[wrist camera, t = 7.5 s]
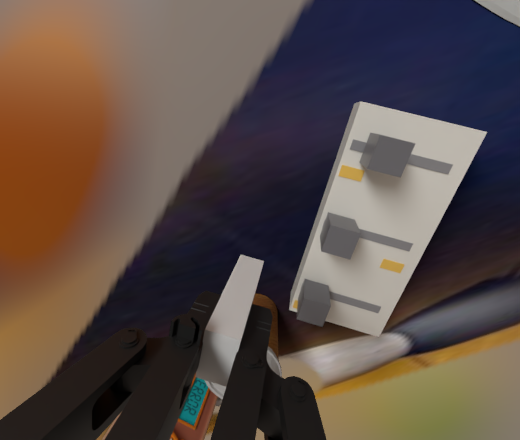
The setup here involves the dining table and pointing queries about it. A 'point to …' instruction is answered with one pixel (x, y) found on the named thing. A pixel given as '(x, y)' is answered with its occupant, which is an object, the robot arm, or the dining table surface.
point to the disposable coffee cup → (272, 346)
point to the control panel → (193, 413)
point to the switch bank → (384, 213)
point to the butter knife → (504, 9)
